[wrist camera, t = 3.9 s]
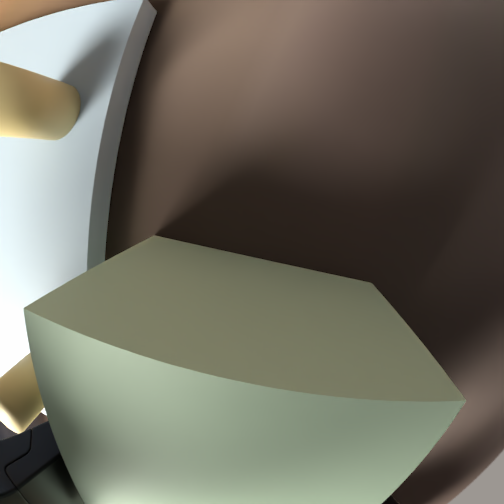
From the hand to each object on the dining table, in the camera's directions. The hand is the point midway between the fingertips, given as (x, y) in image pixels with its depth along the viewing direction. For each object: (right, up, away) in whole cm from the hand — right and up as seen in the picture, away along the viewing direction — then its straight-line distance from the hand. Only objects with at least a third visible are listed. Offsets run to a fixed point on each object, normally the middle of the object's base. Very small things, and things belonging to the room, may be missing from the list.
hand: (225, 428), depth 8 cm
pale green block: (0, 0, +1) cm, 1 cm away
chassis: (-10, +6, 0) cm, 12 cm away
